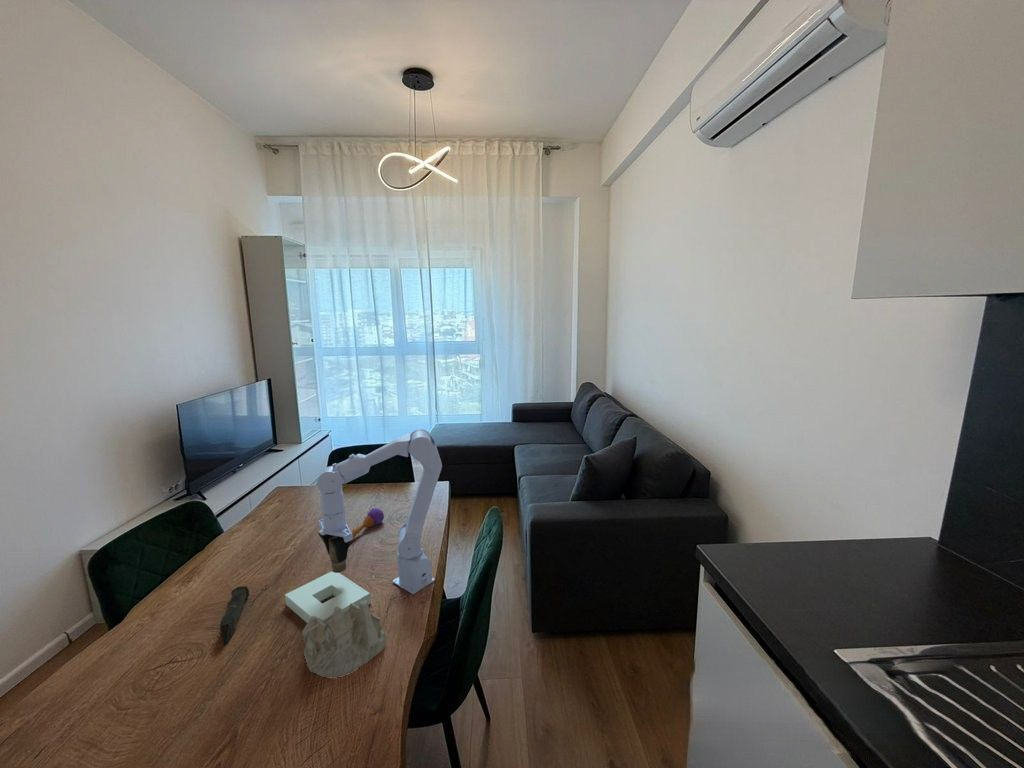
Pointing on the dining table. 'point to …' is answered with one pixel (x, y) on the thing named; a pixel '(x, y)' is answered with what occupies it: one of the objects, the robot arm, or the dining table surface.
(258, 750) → the dining table surface
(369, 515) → the kendama
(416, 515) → the robot arm
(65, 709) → the dining table surface
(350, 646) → the pale grey lumpy mound
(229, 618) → the hand tool
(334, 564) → the walnut peg
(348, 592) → the sage board
